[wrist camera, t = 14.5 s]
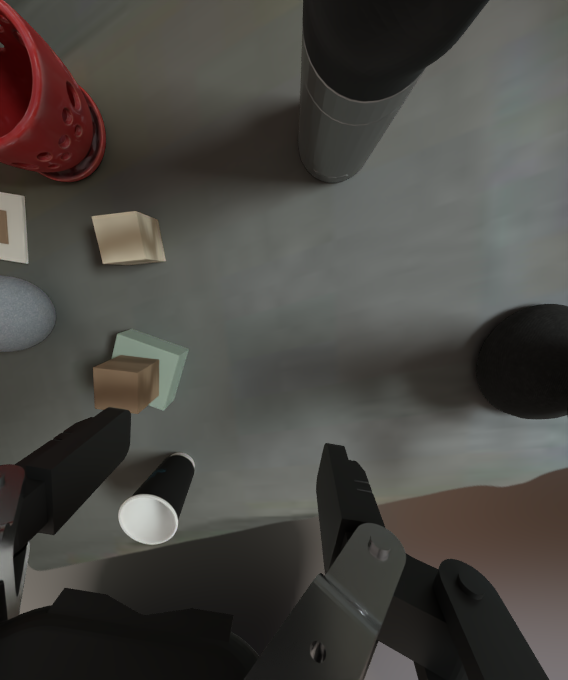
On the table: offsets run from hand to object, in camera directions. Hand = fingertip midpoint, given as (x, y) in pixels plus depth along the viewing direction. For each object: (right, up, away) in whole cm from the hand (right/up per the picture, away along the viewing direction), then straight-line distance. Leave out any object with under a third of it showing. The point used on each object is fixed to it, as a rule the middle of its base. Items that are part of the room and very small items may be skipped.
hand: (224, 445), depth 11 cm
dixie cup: (-15, -17, +36) cm, 42 cm away
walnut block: (-18, -1, +28) cm, 34 cm away
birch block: (-17, +18, +27) cm, 37 cm away
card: (-38, +20, +27) cm, 51 cm away
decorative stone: (-34, +9, +30) cm, 46 cm away
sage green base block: (-18, 0, +32) cm, 37 cm away
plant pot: (-25, +31, +25) cm, 47 cm away
